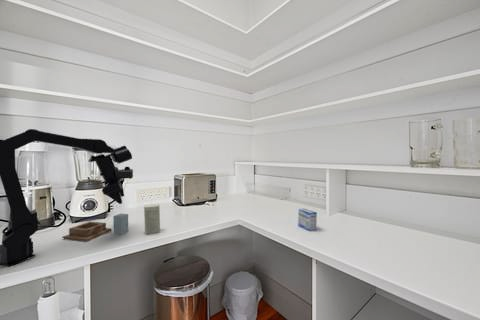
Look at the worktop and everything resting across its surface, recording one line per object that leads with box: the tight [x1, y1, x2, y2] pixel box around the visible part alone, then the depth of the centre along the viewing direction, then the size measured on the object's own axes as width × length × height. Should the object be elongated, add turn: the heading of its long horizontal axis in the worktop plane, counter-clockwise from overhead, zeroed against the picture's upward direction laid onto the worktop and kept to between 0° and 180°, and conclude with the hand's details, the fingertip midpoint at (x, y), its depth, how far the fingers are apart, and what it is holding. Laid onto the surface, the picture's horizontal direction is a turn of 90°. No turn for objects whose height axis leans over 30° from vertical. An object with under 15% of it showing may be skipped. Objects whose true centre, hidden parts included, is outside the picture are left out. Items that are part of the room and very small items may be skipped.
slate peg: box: [112, 213, 129, 236], centre depth 87 cm, size 4×4×8 cm
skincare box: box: [143, 203, 161, 235], centre depth 89 cm, size 6×4×12 cm
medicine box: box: [297, 207, 318, 232], centre depth 95 cm, size 8×4×9 cm, turn 27°
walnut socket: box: [62, 221, 113, 243], centre depth 85 cm, size 12×12×4 cm
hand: (122, 199), depth 88 cm, fingers open, 9 cm apart
